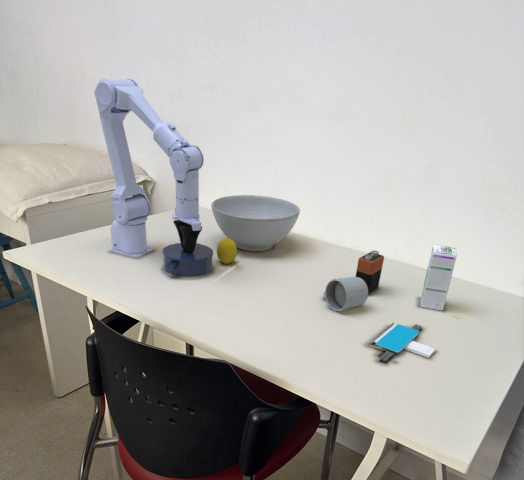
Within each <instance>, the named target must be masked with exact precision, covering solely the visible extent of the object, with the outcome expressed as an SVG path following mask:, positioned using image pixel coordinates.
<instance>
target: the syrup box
mask: <svg viewBox="0 0 524 480" xmlns="http://www.w3.org/2000/svg"><path fill="white" fill-rule="evenodd" d="M457 254H458V253H457V248H456V247H451V246H447V245H434V244H433V245H432V248H431V252H430V256H429V261H428V264H427V269H426V273H425V277H424V282H423V286H422V291H421V294H420V303H419V306H420V307H421V308H425V309H430V310H437V311H443V310H444V307H445V304H446V301H447V297H448V292H449V290H450V289H449V288H450V284H451V281H452V276H453V272H454V269H455V264H456V261H457V256H458V255H457Z"/></svg>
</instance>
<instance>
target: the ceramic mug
mask: <svg viewBox="0 0 524 480" xmlns="http://www.w3.org/2000/svg"><path fill="white" fill-rule="evenodd" d="M322 294H323V299H325V301H326V304H327V306H328V307H329V308H330V309H331V310H333V311H335V312H342V311H345V310H349V309H352V308H356V307H360V306H362V305H363V304H364V303H366V301H367V300H368V298H369V294H368V286H367V284H366V282H365V281H364V280H363V279H361V278H359V277H356V276H348V277H341V278H333V279H331V280H330V281H328V282H327V284H326V286H325V289H324V291H323V293H322Z"/></svg>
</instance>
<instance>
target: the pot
mask: <svg viewBox="0 0 524 480" xmlns="http://www.w3.org/2000/svg"><path fill="white" fill-rule="evenodd" d="M162 257H163V258H162V259H163V269H164V271H165V272H166V273H167V274H170V275H173V276H176V277H183V278H193V277H196V278H197V277H201V276H205V275H207V274H209V273H211V272H212V269H213V256H212V257H210V258H208V259H206V260H202V261H196V262H182V261H176V260H172V259H169V258H167V257H165V256H164V255H163V254H162Z"/></svg>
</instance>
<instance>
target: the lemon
mask: <svg viewBox="0 0 524 480" xmlns="http://www.w3.org/2000/svg"><path fill="white" fill-rule="evenodd" d="M237 254H238V247H236V244H235V242H234V241H233V240H232V239H230V238H229V237H227V236H225V238H222V239H221V240H219V242H218V244H217V248H216V255H217V258H218V260H219V261H220V262H221V263H223V264H226V265H229V264H231V263H233V262H234V261H235V259H236V258H237Z"/></svg>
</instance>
